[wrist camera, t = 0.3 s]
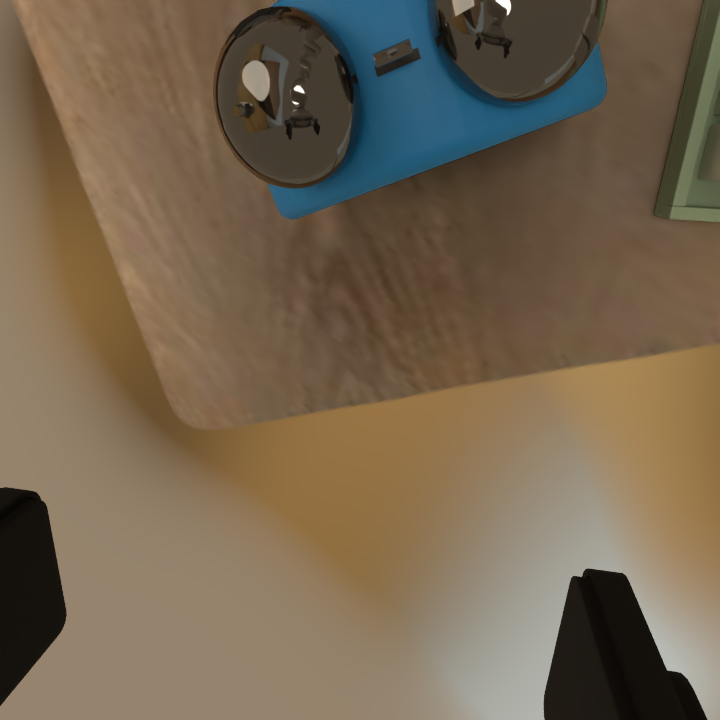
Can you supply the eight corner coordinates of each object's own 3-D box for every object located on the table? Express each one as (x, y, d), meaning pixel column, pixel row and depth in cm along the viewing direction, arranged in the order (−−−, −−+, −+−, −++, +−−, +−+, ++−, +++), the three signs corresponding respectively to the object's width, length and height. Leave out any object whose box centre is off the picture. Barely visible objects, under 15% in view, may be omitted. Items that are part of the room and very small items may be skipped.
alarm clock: (323, 208, 30) (212, 250, 16) (280, 92, 28) (115, 24, 14) (568, 117, 27) (698, 69, 13) (536, -21, 25) (647, -253, 11)
